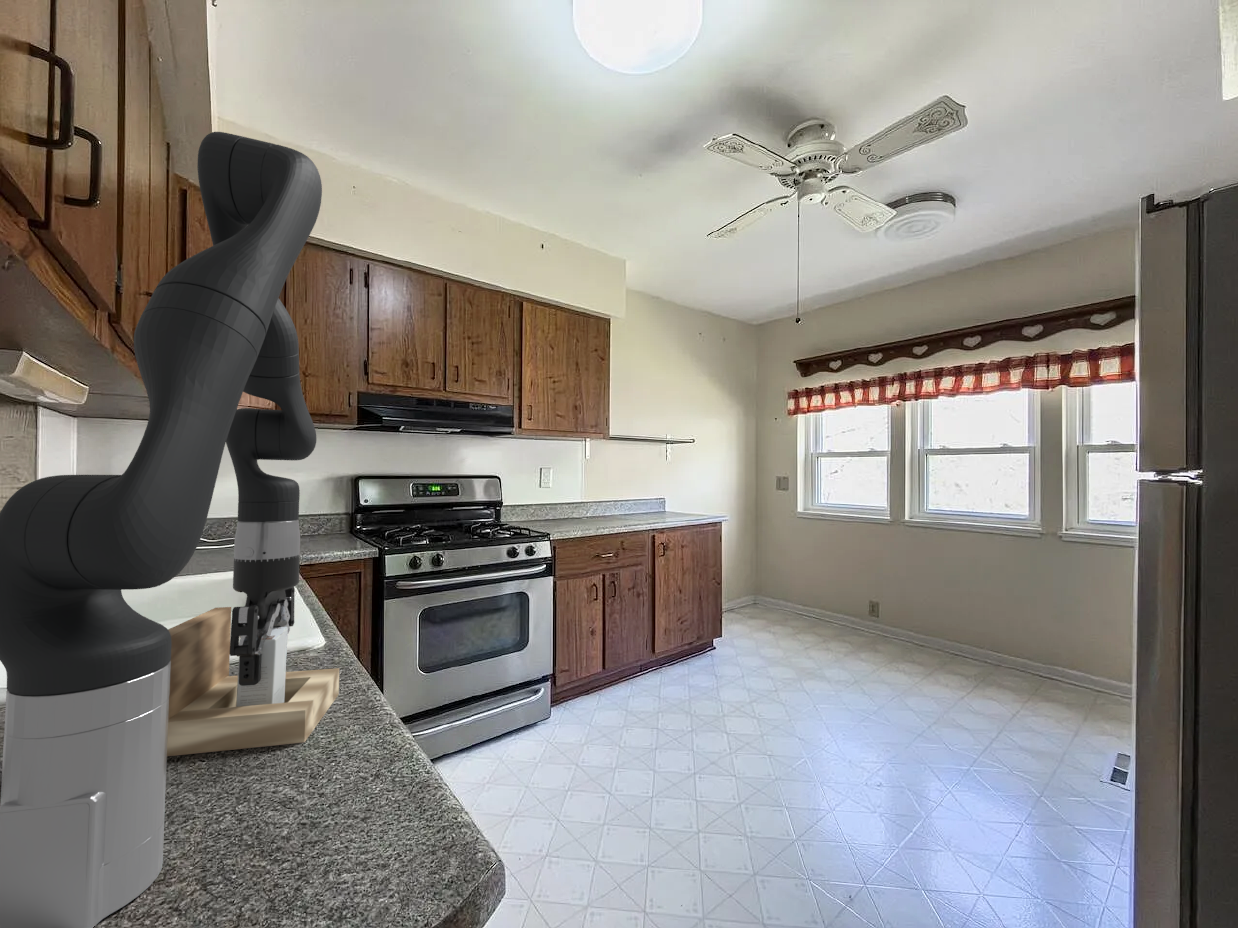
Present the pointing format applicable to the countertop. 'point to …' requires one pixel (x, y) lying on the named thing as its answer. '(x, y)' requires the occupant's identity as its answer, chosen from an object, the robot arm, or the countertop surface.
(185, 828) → the countertop surface
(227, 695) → the wooden frame with backboard
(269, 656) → the skincare box
